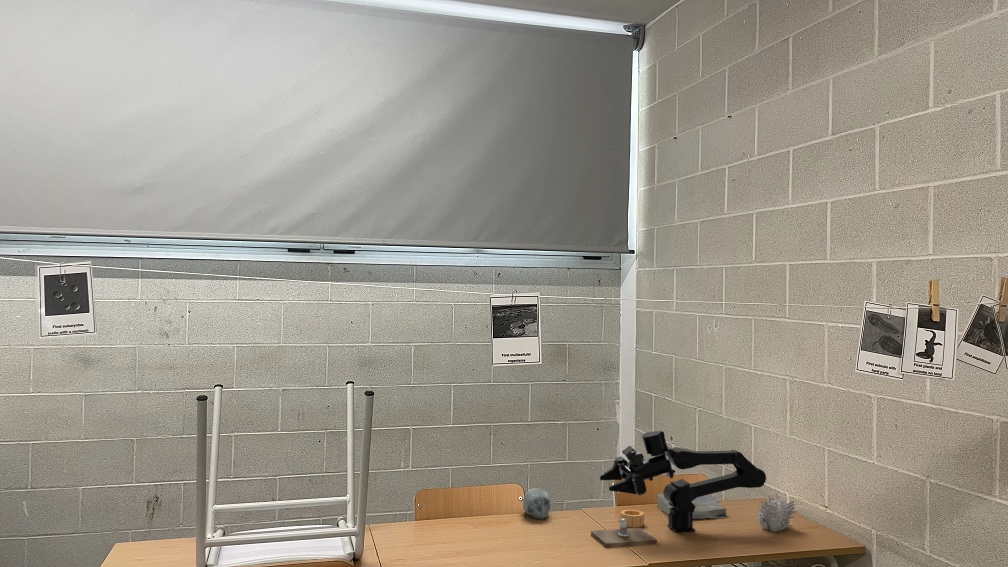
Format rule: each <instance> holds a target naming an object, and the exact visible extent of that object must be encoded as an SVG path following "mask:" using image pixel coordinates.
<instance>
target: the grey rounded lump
mask: <svg viewBox="0 0 1008 567" xmlns="http://www.w3.org/2000/svg"><path fill="white" fill-rule="evenodd" d="M522 500H523V501H522V507H523V510H524V511H525V513H527V515H529V516H531V517H532V518H535V519H538V520H542V519H546V517H547V516H548V515H549V512H550V511H551V496H550V494H549V493H548V492H547V491H545V490H544V489H542V488H538V487H533V488H530V489H529V490H527V491H526V492H525V494H524V496H523V499H522Z"/></svg>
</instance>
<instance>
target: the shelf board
mask: <svg viewBox="0 0 1008 567" xmlns="http://www.w3.org/2000/svg"><path fill="white" fill-rule="evenodd" d="M618 532H620V528H618V529H617V528H616V529H615V528H614V529H603V530H601V529H600V530H591V531H590V536H592V537H593V538H594V539H595V540H596V541H597V542H599V543H600V544H601V545H602V546H603V547H604V548H606V549H607V548H609V549H610V548H620V547H621V548H622V547H633V546H637V547H638V546H648V545H658V539H657V538H655V537H654V536H652V535H651V534H649V533H648V532H647V531H645V530H644V529H642V527H628V528H627V532H628V533H630V536H629V537H619V536H618V535H617V533H618Z"/></svg>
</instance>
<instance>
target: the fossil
mask: <svg viewBox="0 0 1008 567" xmlns="http://www.w3.org/2000/svg"><path fill="white" fill-rule="evenodd" d="M656 499H657V504H658V508H659V511H660V512H662V513H664V514H666V515H667V516H668V517H669V513H670V508H673V507H672V506H670V505H669V502H668V501H667V500H666V499H665V498H664V495H663V492H662V493H657V494H656ZM692 503H693V504H694V505H695V509H694V512H693V519H694V520H695V519H700V520H701V519H702V520H703V519H706V518H718V519H727V518H728V515H727V510H728V509H727V508H726V507H724V506H722V503H721V500H720V499H718V498H717V497H715V496H713V495H712V496H711V495H710V494H709V495H705V496H701V497H697V498H696V499H694V500H693V501H692Z"/></svg>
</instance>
